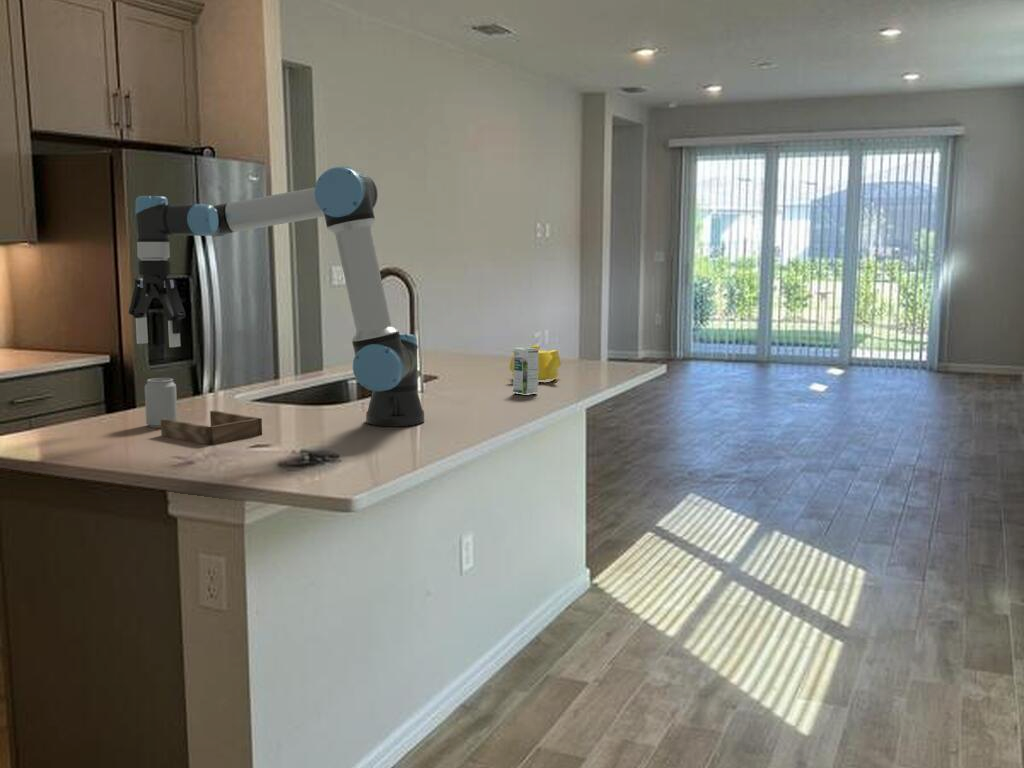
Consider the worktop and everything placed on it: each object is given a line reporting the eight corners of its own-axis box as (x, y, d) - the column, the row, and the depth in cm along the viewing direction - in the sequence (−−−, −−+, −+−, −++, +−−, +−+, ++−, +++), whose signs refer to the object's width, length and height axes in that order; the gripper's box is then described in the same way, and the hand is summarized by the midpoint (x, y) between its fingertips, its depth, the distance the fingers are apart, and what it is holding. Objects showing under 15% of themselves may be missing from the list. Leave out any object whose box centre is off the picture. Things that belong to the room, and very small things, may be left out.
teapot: (560, 377, 337) (561, 343, 336) (559, 384, 321) (559, 348, 319) (512, 377, 339) (512, 343, 337) (508, 384, 322) (508, 348, 320)
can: (167, 421, 250) (165, 376, 248) (183, 425, 246) (181, 378, 244) (140, 426, 244) (138, 379, 243) (156, 429, 240) (154, 381, 238)
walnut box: (262, 434, 234) (261, 418, 234) (208, 445, 222) (208, 427, 221) (214, 426, 245) (214, 410, 244) (161, 435, 232) (160, 419, 232)
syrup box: (512, 394, 300) (512, 347, 298) (526, 392, 304) (526, 346, 302) (524, 396, 295) (525, 349, 293) (538, 394, 299) (539, 347, 297)
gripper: (198, 260, 235) (202, 347, 238) (138, 258, 249) (142, 340, 252) (171, 260, 229) (175, 349, 232) (111, 259, 243) (116, 343, 246)
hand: (158, 345), depth 242 cm, fingers open, 13 cm apart
